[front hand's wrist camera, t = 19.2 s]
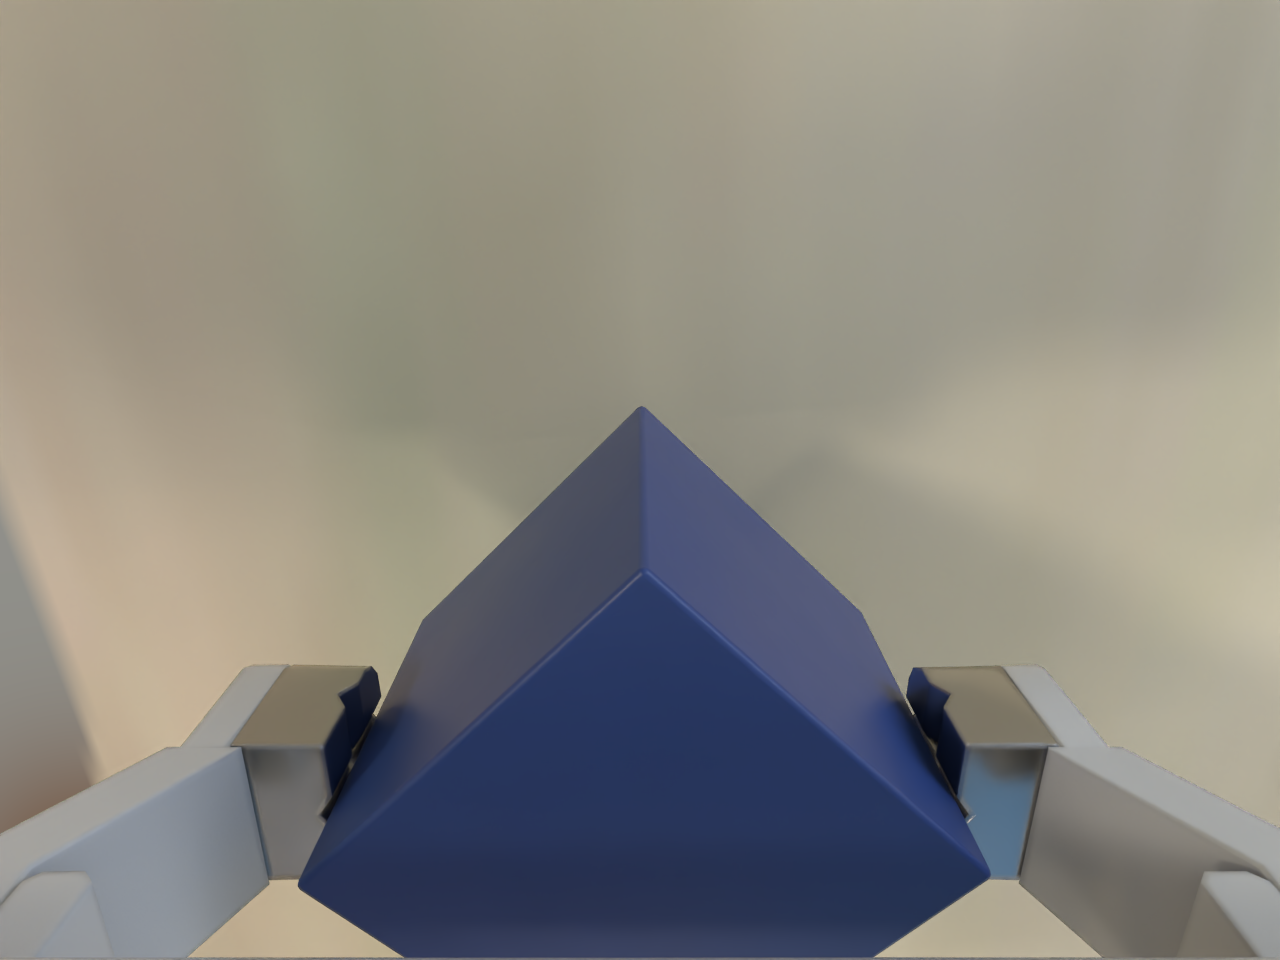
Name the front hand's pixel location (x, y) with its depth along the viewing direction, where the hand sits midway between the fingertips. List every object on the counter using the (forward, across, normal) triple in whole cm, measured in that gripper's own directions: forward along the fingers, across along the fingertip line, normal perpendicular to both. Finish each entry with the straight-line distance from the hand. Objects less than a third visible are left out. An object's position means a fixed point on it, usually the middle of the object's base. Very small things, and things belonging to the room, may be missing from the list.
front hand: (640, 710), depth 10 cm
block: (+2, 0, 0) cm, 2 cm away
